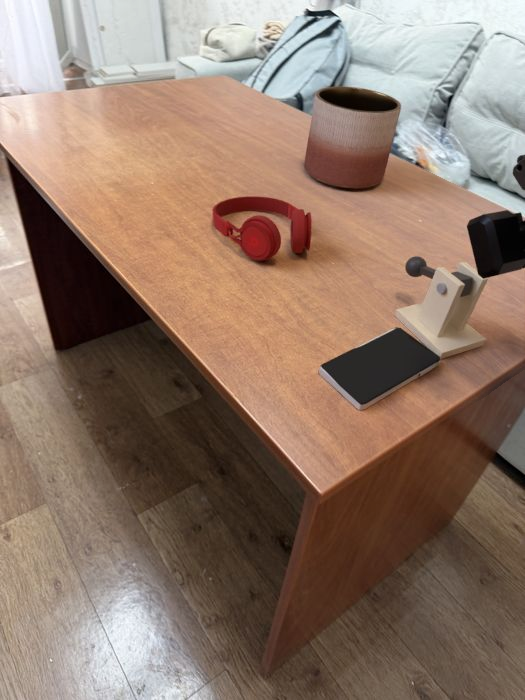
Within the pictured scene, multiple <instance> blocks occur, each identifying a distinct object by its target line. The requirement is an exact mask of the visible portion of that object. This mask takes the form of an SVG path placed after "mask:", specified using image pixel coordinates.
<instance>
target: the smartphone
mask: <svg viewBox="0 0 525 700" xmlns="http://www.w3.org/2000/svg"><path fill="white" fill-rule="evenodd" d="M440 362H441V359H440V357H439V356H438V355H437V354H435V353H434V352H433V351H431V350H430V349H429V348H427V347H426V346H425V345H424V344H423V343H422V342H421V341H420V340H419V339H417V338H415V337H414V336H413V335H411V334H410V333H408V332H407V331H406V330H404V329H403V328H401V327H398V326H396V327H393V328H391V329H389V330H388V331H385V332H383V333H381V334H379V335H377V336H375V337H373V338H372V339H369V340H367V341H366V342H364V343H362V344H360V345H357V346H355V347H354V348H351V349H350V350H347V351H345V352H343V353H342V354H339V355H337V356H335V357H333V358H332V359H329V360H328V361H326V362H324V363H321V364H320V366H319V368H318V374H319V375H320V376H321V377H322V378H324V380H325V381H326V382H327V383H328V384H330V385H331V386H332V387H333V388H334V389H335V390H336V391H337V392H338V393H339V394H340V395H341V396H342V397H344V399H346V400H347V401H348V402H349V403H350V404H351V405H352V406H353V407H354V408H356V409H357V410H358V411H364V410H366V409H368V408H369V407H371V406H372V405H374V404H377V402H379V401H381V400H383V399H384V398H386V397H387V396H389V395H391V394H392V393H394V392H396V391H397V390H399V389H401V388H403V387H404V386H406V385H408V384H410V383H411V382H413V381H414V380H416V379H418V378H420V377H421V376H424V375H425V374H427V373H429V372H431V371H432V370H433V369H435V368H436V367H438V366H439V364H440Z"/></svg>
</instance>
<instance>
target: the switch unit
mask: <svg viewBox="0 0 525 700" xmlns="http://www.w3.org/2000/svg"><path fill="white" fill-rule="evenodd" d="M435 270H436V271H435V274H434V276H433V279H431V281H430V284H429V287H428V289H427V292H426V294H425V297H424V300H423V302H419V303H416V304H412V305H408V306H403V307H400V308H396V310H395V313H394V316H395V318H397V320H398V321H399V322H401V323H402V324H403V326H405V327H406V328H407V329H408V330H409V331H410V333H412V334H413V335H414V336H415V337H416V339H417V340H418V341H419V342H420V343H422V344H423V345H425V346H426V347H427V348H429V349H430V350H431V351H433V352H434V353H435V354H437V355H438V356H439V357H440V360H441V359H445V358H448V357H451V356H455V355H458V354H460V353H464V352H467V351H470V350H475V349H476V348H480V347H483V346H484V344H485V342H486V340H487V339H486V338H485V337H484V336H483V335H482V334H480V333H479V332H478V331H477V330H475V329H474V328H473V327H472V326H471V325H470V324H469V323H468V322H469V320H470V318H471V315H472V314H473V311H474V310H475V308H476V305H477V303H478V301H479V299H480V297H481V294H482V293H483V290H484V289H485V287H486V285H487V282H488V281H489V278H485V279H483V278H482V277H481V276H479V275H478V272H477V268H474V267H473V266H472V265H470V264H469V263H467V261H460V262H459V263H458V265H457V267H456V270H455V272H460V273H462V274H465V275H467V276H470V277H472V278H473V281H472V287H471V292H470V295H467V296H463V297H460V295H461V293H462V291H463V288H464V286H465V284H464V283H463V282H461V281H460V280H459V279H458V278H456V277H455V276H454V275H452V274H451V273H452V272H450V271H449V270H448V269H446V268H445V267H444V266H438V267H436V269H435Z"/></svg>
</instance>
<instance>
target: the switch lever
mask: <svg viewBox="0 0 525 700" xmlns="http://www.w3.org/2000/svg"><path fill="white" fill-rule="evenodd" d="M427 264H428V263H427V261H426V260H425V259H424V258H423V257H422V256H418V255H417V256H415V255H414V256H412V257H410V258H408V260H407V261H406V263H405V265H404V267H405V268H404V269H405V272H406V273H407V275H409V276H410V277H411V278H419V277H422V276H423V277H426V278H428V279H431V280H432V279H433V276H434V274H435V271H436V269H435V268H433V267H430V266H428V265H427ZM450 273H451V274H452V275H454V276H455V277H456V278H458V279H459V280H460V281H461V282H463V283H464V284H465V286H464V288H463V291H462V293H461V295H460V297H463V296H467V295H470V292H471V287H472V281H473V278H472V277H470V276H467V275H465V274H462V273H460V272H456V271H453V272H450Z"/></svg>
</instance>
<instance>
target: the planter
mask: <svg viewBox="0 0 525 700" xmlns="http://www.w3.org/2000/svg"><path fill="white" fill-rule="evenodd" d="M401 110H402V104H401V102H400V101H399V100H398V99H396V98H395V97H393V96H391V95H388V94H386V93H383V92H381V91H376V90H372V89H368V88H362V87H354V86H344V85H343V86H341V85H340V86H338V85H337V86H327V87H322V88H320V89H318V90H316V92H315V94H314V99H313V107H312V114H311V120H310V124H309V130H308V131H309V132H308V137H307V142H306V143H307V144H306V149H305V155H304V165H303V166H304V169H305V171H306V172H307V174H308V175H309V176H310V177H312V178H313V179H314V180H316V181H317V182H319V183H321V184H324V185H327V186H330V187H335V188H339V189H346V190H362V189H369V188H372V187H374V186H377V185H378V184H380V183H381V182H382V181H383V180H384V177H385V173H386V170H387V166H388V162H389V158H390V154H391V150H392V146H393V141H394V138H395V134H396V130H397V126H398V122H399V117H400V114H401Z"/></svg>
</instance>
